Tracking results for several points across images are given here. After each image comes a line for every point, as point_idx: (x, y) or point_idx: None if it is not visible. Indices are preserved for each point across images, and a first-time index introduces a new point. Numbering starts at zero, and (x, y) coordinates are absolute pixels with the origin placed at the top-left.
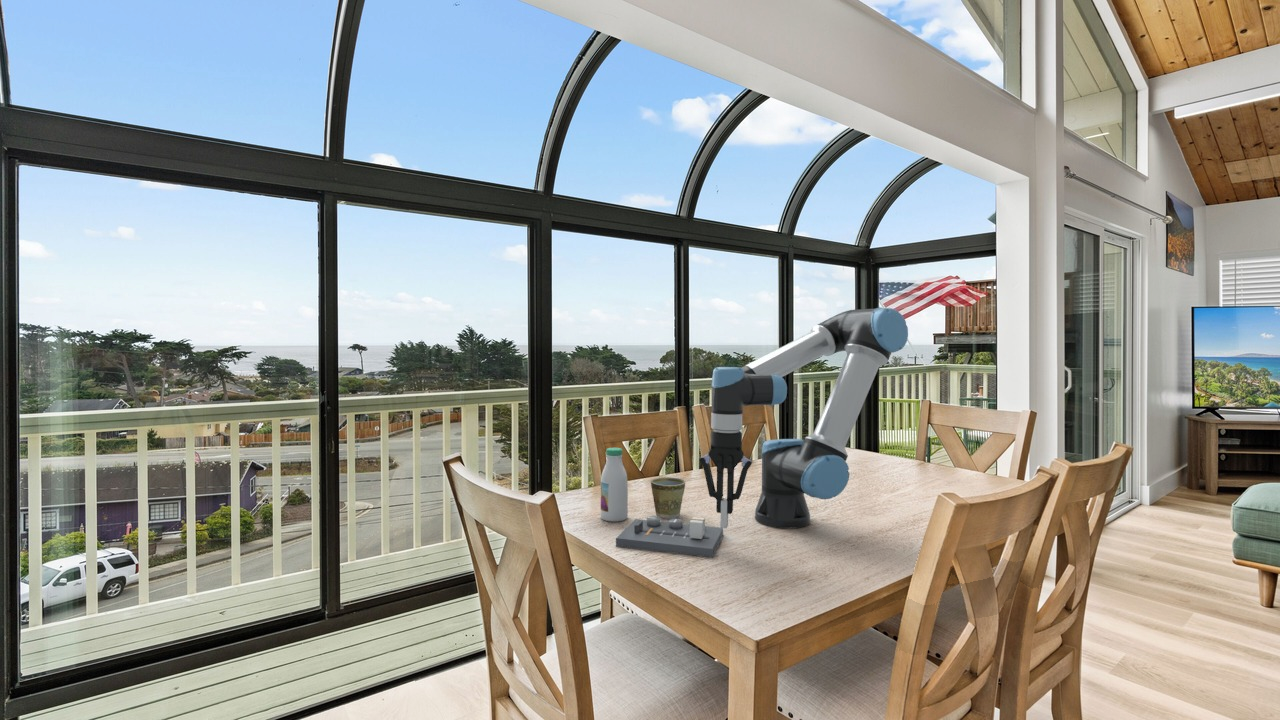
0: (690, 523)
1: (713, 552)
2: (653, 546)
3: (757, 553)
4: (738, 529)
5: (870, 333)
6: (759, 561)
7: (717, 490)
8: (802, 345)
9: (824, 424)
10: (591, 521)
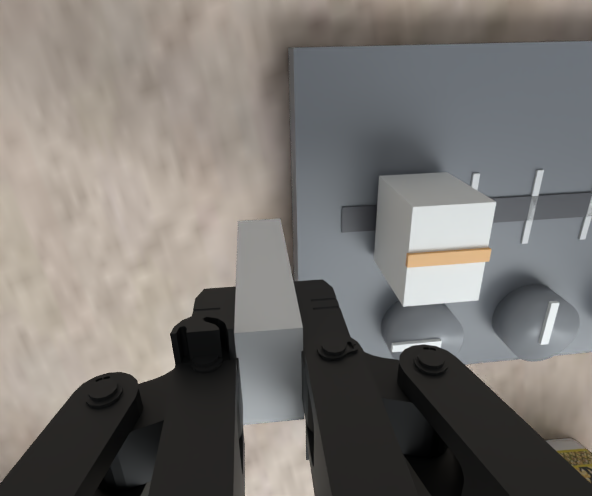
0: (485, 198)
1: (290, 93)
2: None
3: (73, 196)
4: (246, 440)
5: None
6: (19, 79)
7: (374, 415)
8: None
9: None
10: None
